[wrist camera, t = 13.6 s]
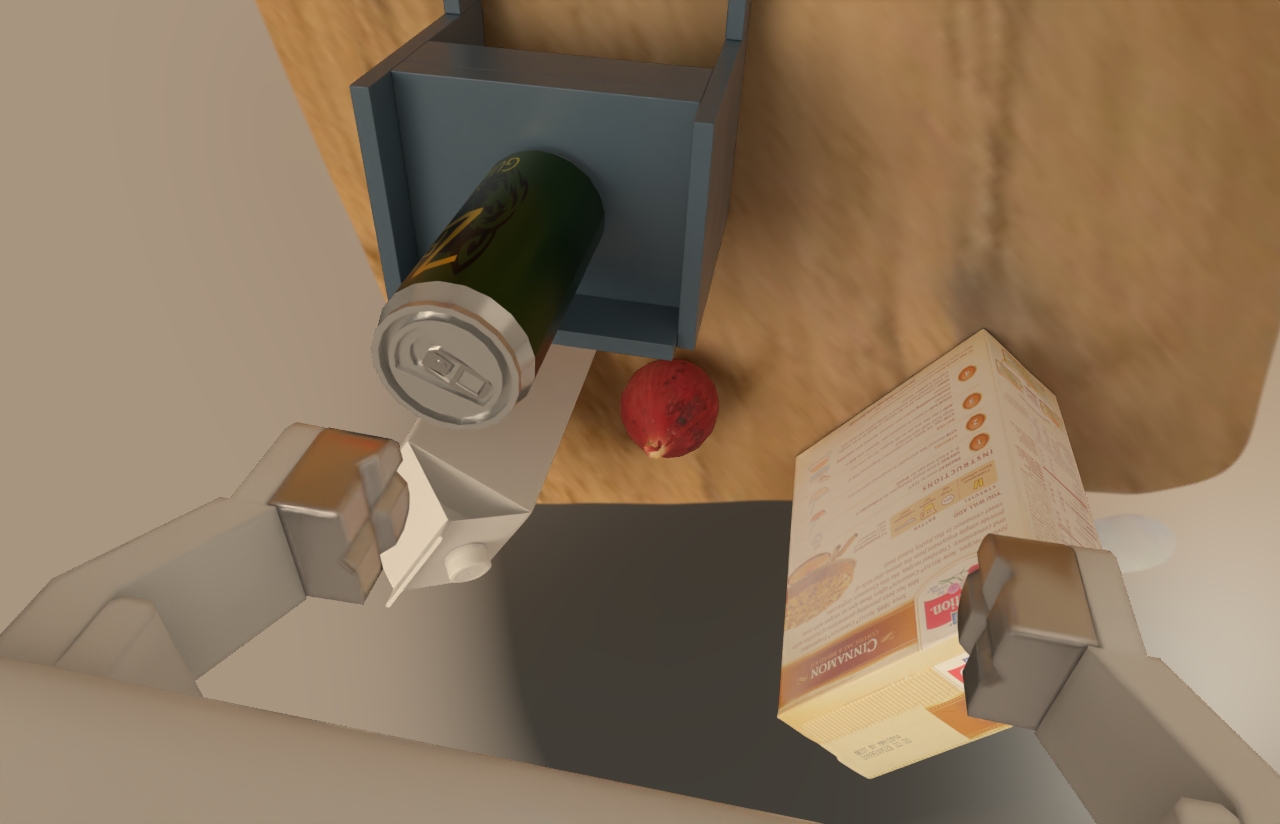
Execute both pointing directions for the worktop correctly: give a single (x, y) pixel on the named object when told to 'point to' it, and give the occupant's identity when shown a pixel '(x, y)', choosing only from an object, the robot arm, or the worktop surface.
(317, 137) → the worktop surface
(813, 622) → the coffeecake box
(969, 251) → the worktop surface
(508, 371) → the green drink can
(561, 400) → the milk carton
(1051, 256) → the worktop surface
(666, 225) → the rack
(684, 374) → the onion
